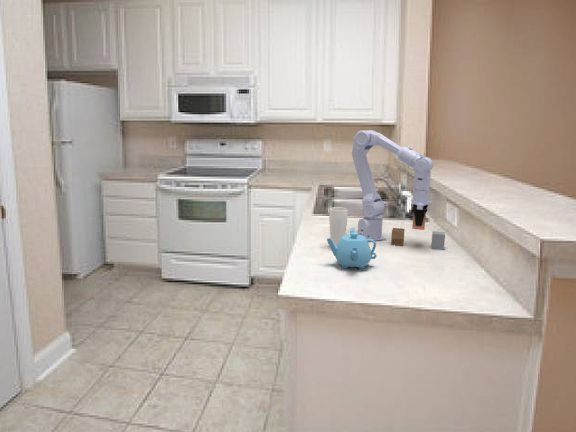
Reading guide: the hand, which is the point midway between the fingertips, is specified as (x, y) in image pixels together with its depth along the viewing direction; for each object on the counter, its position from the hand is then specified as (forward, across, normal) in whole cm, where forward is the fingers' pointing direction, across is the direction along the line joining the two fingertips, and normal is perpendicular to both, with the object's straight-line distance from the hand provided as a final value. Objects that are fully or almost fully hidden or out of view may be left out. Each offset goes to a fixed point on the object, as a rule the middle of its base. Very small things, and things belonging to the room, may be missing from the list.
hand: (418, 224), depth 168 cm
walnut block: (+9, 0, +8) cm, 11 cm away
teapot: (+9, -32, +20) cm, 39 cm away
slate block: (+9, 0, -8) cm, 11 cm away
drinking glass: (+9, -12, +29) cm, 33 cm away
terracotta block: (+1, 0, 0) cm, 1 cm away
